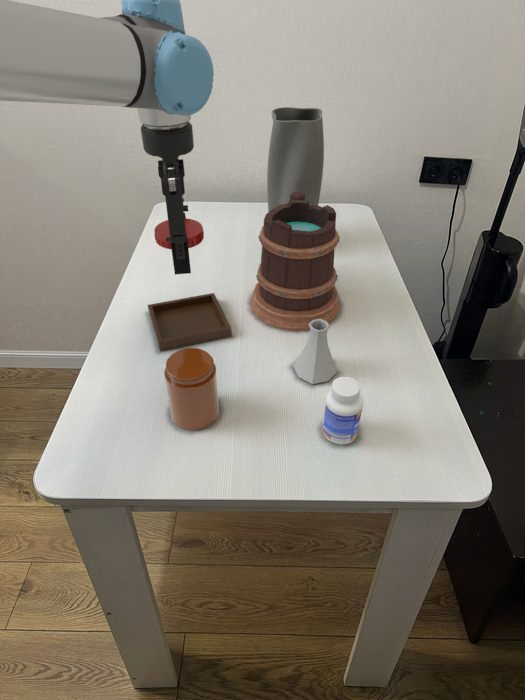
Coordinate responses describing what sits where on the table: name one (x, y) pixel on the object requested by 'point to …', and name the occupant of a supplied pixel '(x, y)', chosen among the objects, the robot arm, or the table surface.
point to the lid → (192, 231)
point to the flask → (316, 355)
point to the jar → (192, 388)
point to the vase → (295, 155)
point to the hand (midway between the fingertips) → (182, 259)
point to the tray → (188, 321)
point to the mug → (297, 266)
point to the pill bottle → (342, 411)
